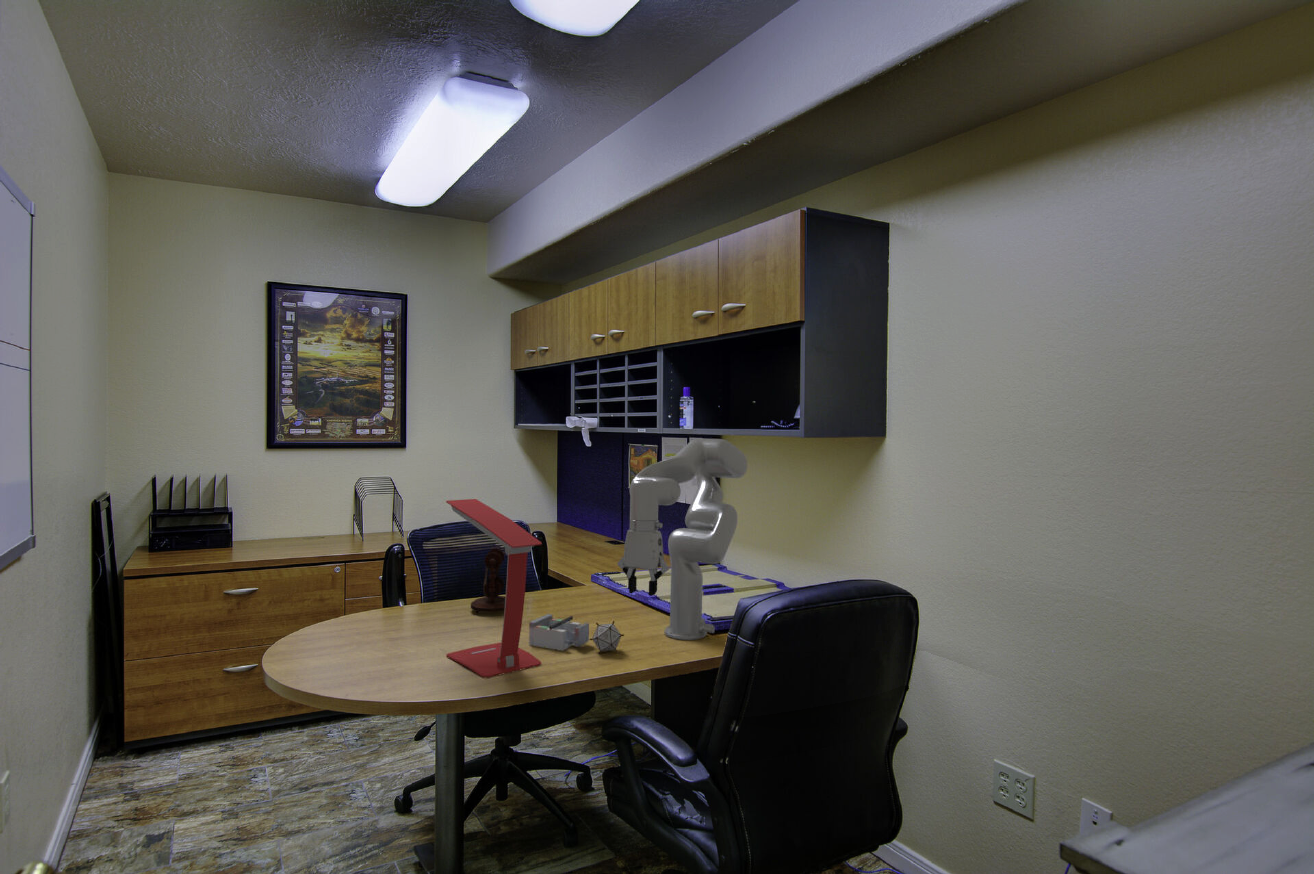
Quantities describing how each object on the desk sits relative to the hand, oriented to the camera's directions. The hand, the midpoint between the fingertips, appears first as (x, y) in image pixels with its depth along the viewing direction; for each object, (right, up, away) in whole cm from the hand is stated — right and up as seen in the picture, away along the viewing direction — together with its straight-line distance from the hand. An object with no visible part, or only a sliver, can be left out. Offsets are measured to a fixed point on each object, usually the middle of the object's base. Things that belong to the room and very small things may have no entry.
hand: (642, 592), depth 189 cm
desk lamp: (-41, -17, -2) cm, 44 cm away
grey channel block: (-20, -16, +9) cm, 27 cm away
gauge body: (-25, -17, +11) cm, 32 cm away
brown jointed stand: (-50, -16, +44) cm, 68 cm away
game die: (-10, -17, +5) cm, 21 cm away
